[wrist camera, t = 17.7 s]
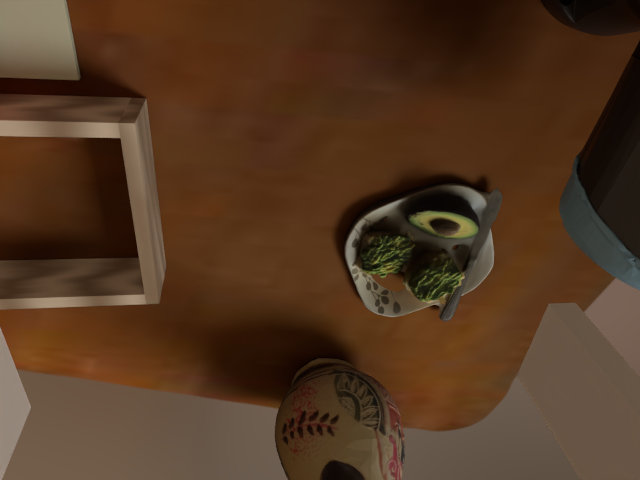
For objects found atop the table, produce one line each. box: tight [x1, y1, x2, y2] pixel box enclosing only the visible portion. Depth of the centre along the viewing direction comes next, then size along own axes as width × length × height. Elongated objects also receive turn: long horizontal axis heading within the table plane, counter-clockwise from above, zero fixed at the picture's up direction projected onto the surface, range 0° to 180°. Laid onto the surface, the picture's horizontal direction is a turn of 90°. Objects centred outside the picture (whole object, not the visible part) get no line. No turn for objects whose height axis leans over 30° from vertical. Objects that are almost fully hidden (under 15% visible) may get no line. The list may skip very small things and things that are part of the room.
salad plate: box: [344, 183, 502, 321], centre depth 55 cm, size 19×18×5 cm
